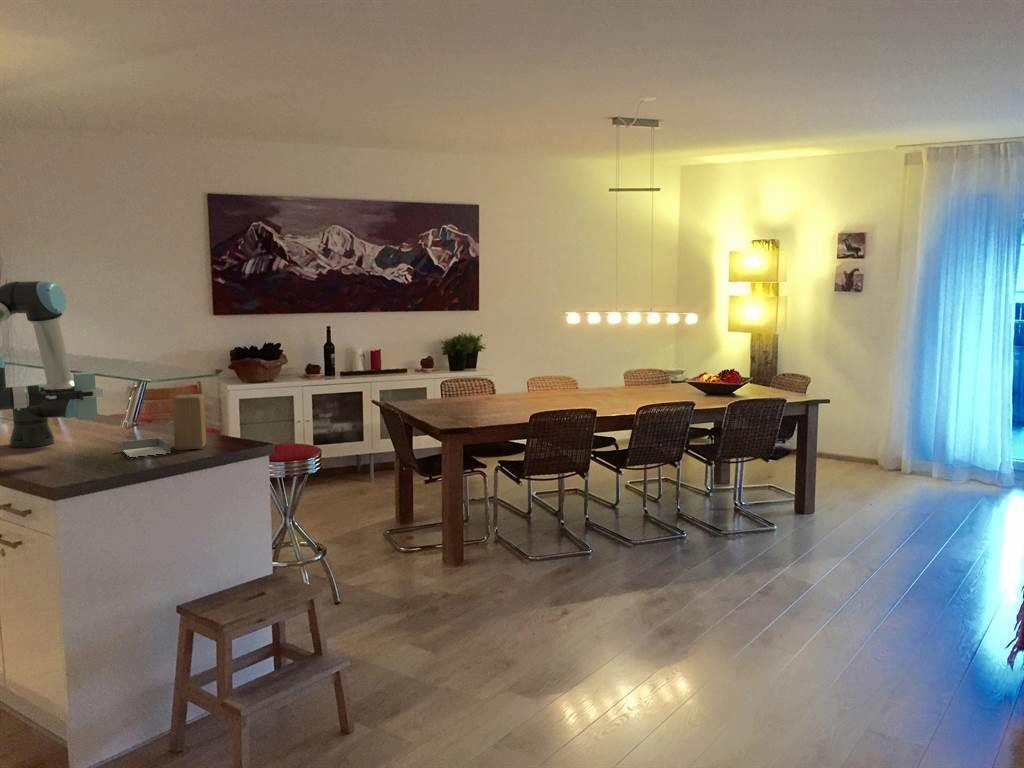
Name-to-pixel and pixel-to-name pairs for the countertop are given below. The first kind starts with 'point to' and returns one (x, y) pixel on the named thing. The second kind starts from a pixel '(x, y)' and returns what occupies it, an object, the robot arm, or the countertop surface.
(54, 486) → the countertop surface
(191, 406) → the wooden block
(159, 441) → the corner jig
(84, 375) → the teal post
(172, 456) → the countertop surface
